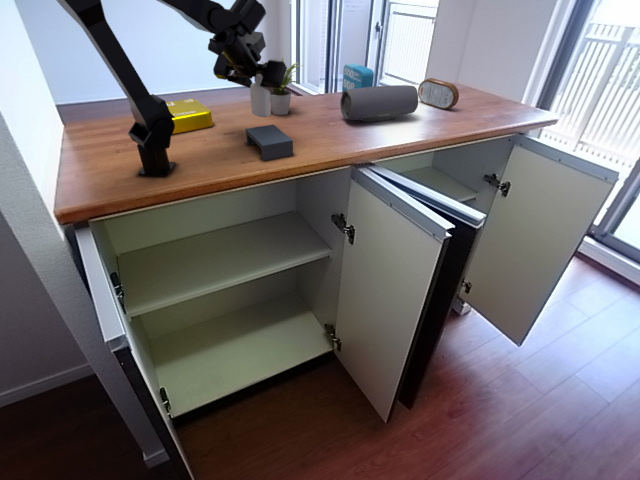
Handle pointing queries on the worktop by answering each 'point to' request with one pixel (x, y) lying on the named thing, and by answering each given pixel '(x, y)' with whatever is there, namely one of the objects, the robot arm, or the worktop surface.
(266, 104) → the eye dropper bottle
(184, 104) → the element tile
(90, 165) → the worktop surface
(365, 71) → the data package
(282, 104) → the house plant
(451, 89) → the tin
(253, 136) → the shelf
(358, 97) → the bluetooth speaker
